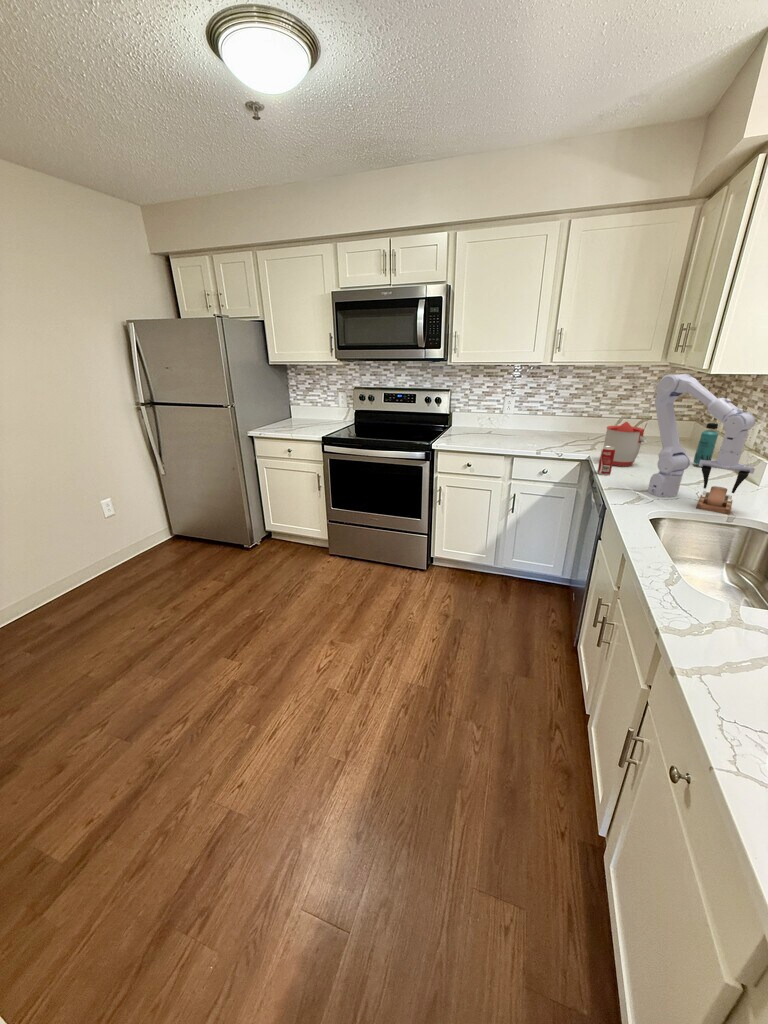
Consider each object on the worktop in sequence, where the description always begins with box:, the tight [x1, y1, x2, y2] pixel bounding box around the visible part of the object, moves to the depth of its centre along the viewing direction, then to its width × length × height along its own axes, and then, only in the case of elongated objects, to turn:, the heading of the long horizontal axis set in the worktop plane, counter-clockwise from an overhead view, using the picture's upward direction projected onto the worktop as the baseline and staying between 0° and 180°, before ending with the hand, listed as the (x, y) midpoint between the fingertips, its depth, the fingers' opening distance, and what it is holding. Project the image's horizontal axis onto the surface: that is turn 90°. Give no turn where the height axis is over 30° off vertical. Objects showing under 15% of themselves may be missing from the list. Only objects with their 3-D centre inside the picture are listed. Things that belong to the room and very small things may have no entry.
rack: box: [695, 490, 733, 516], centre depth 148 cm, size 18×9×2 cm, turn 140°
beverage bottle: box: [693, 422, 719, 465], centre depth 193 cm, size 6×7×20 cm
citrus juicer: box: [603, 421, 647, 467], centre depth 198 cm, size 16×17×20 cm
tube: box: [706, 485, 729, 507], centre depth 144 cm, size 4×4×7 cm
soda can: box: [597, 445, 615, 476], centre depth 184 cm, size 5×5×12 cm
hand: (718, 490), depth 143 cm, fingers open, 7 cm apart
